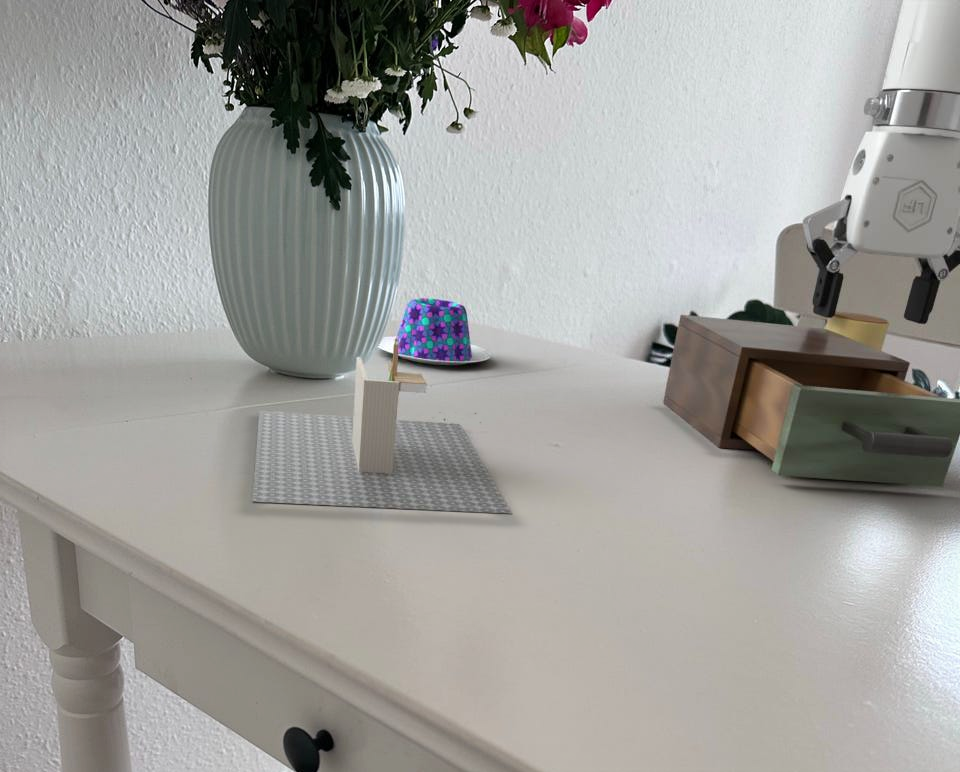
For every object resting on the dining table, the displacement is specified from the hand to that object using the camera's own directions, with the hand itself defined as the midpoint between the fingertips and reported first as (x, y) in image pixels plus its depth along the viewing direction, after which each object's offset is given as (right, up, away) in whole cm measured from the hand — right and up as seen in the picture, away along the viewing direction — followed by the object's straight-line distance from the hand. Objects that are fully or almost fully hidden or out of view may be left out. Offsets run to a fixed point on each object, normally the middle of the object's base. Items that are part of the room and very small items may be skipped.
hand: (869, 318), depth 93 cm
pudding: (-43, -2, +6) cm, 43 cm away
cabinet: (-12, -12, -7) cm, 18 cm away
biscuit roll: (-2, -8, +4) cm, 9 cm away
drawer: (-10, -17, -18) cm, 27 cm away
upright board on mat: (-45, -19, -27) cm, 56 cm away
